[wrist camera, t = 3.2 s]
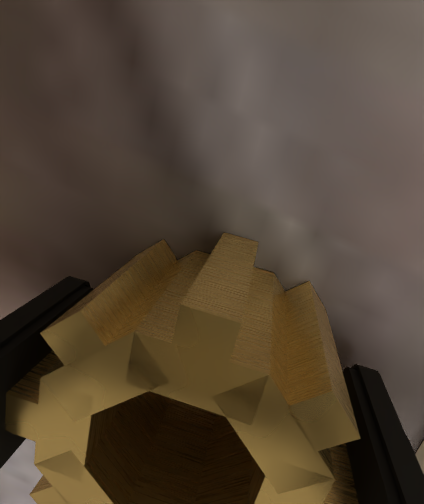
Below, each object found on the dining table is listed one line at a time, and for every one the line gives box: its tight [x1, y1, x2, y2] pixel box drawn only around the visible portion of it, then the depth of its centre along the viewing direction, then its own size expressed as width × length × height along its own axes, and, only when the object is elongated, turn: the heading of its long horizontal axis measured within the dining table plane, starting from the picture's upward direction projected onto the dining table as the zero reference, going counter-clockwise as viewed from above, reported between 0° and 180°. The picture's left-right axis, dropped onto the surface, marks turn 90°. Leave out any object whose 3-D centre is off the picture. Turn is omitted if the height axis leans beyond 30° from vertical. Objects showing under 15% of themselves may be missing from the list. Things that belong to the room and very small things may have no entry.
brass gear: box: [5, 233, 361, 504], centre depth 9 cm, size 7×7×4 cm
